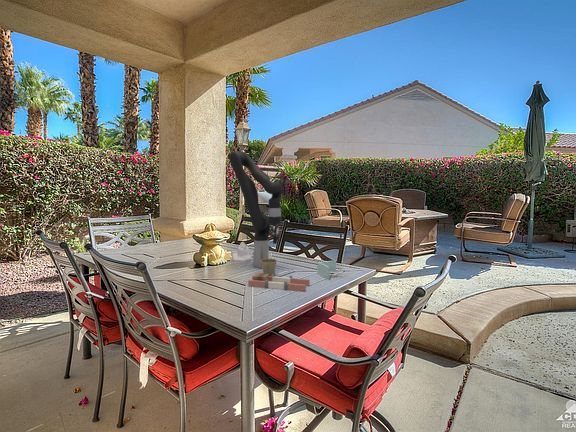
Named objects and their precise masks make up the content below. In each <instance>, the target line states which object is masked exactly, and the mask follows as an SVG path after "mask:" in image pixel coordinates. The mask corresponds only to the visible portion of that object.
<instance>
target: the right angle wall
mask: <svg viewBox="0 0 576 432" xmlns="http://www.w3.org/2000/svg"><path fill="white" fill-rule="evenodd" d="M317 275H319V276H320V277H322V278H323V279H326V280H328V281H329V280H331V278H337V277H338V272H337V260H335V259H334V260H328V261H327V260H326V261H320V262H319V261H318V262H317Z"/></svg>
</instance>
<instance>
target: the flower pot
mask: <svg viewBox="0 0 576 432" xmlns="http://www.w3.org/2000/svg"><path fill="white" fill-rule="evenodd" d="M277 262H278V260H277V259H275V258H269V259H263V260H261V263H262V267H263V268H262V273H263V274H269V276H271V275H272V274H274V275H275V272H276V265H277Z"/></svg>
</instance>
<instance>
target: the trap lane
mask: <svg viewBox="0 0 576 432" xmlns="http://www.w3.org/2000/svg"><path fill="white" fill-rule="evenodd" d="M247 283H248V285H247V286H248V287H252V286H253V287H254V288H264V289H276V290H284V291H294V292H295V291H296V292H306V291H307V286H308V287H310V286H311V285H310V279H309V278H308V279H306V278H293V275H289V277H283V276H275V273H274V274H272V275H271V276H269V281H268V280H265V281H258V280H252V279H248V280H247Z"/></svg>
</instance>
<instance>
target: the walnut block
mask: <svg viewBox="0 0 576 432" xmlns="http://www.w3.org/2000/svg"><path fill="white" fill-rule="evenodd" d="M251 277H252V279H251V280H258V281H265V280H268V281H269V274H263V272H262V273H260V272H256V273H255V274H254V275H252V276H251Z"/></svg>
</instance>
